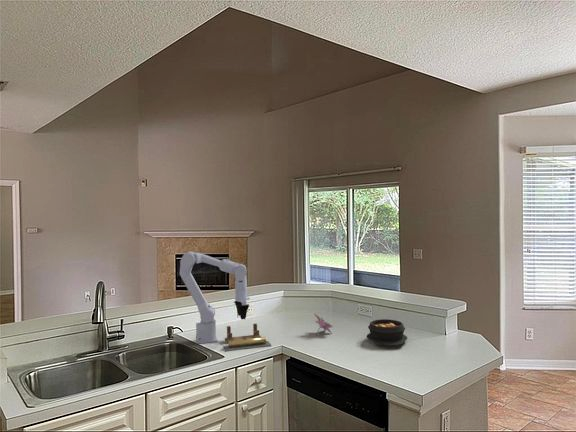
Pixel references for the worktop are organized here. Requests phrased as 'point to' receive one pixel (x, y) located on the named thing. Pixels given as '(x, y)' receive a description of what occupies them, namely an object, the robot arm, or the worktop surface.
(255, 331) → the hook stand
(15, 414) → the worktop surface
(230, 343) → the rail
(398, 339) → the casserole
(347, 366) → the worktop surface
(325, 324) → the lily
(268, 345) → the mat
